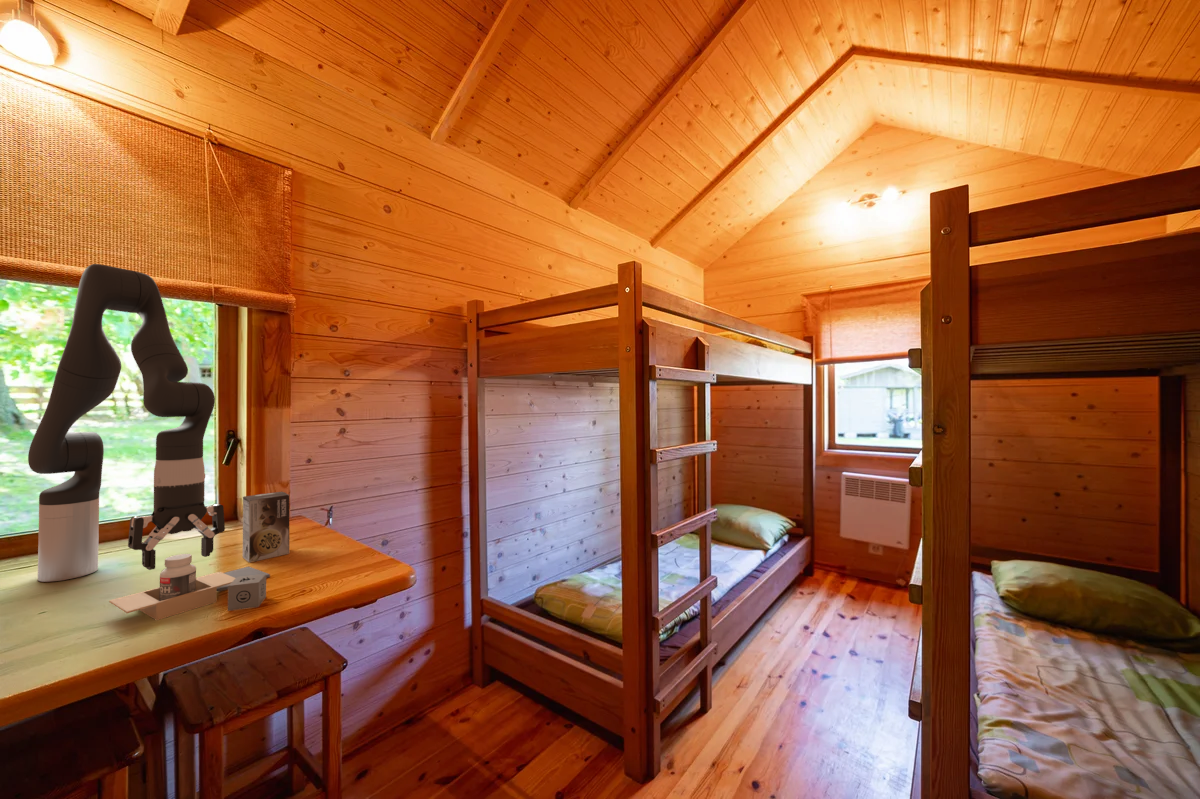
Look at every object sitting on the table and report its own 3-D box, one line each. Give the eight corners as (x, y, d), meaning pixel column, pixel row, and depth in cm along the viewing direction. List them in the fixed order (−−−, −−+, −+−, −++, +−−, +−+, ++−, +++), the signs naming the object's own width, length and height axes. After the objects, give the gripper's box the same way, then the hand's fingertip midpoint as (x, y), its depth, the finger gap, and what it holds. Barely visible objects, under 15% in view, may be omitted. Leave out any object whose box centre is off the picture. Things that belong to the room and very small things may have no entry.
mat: (197, 582, 103) (197, 580, 103) (248, 568, 112) (248, 566, 112) (217, 591, 98) (217, 589, 98) (269, 576, 107) (269, 574, 107)
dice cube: (236, 601, 94) (237, 576, 94) (266, 597, 96) (266, 573, 96) (227, 611, 90) (228, 585, 90) (258, 607, 92) (258, 582, 92)
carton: (108, 617, 87) (108, 600, 87) (219, 586, 102) (219, 571, 102) (126, 629, 82) (126, 611, 82) (239, 594, 97) (239, 579, 97)
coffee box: (282, 549, 127) (282, 490, 127) (290, 554, 123) (290, 494, 123) (241, 557, 120) (242, 495, 120) (248, 563, 116) (249, 499, 116)
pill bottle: (153, 613, 88) (154, 562, 88) (166, 602, 93) (167, 554, 93) (189, 608, 91) (190, 559, 91) (200, 598, 95) (200, 551, 95)
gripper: (214, 475, 100) (213, 549, 100) (123, 485, 88) (122, 570, 87) (231, 477, 96) (230, 555, 96) (138, 488, 84) (137, 577, 84)
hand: (179, 562), depth 92 cm, fingers open, 8 cm apart
